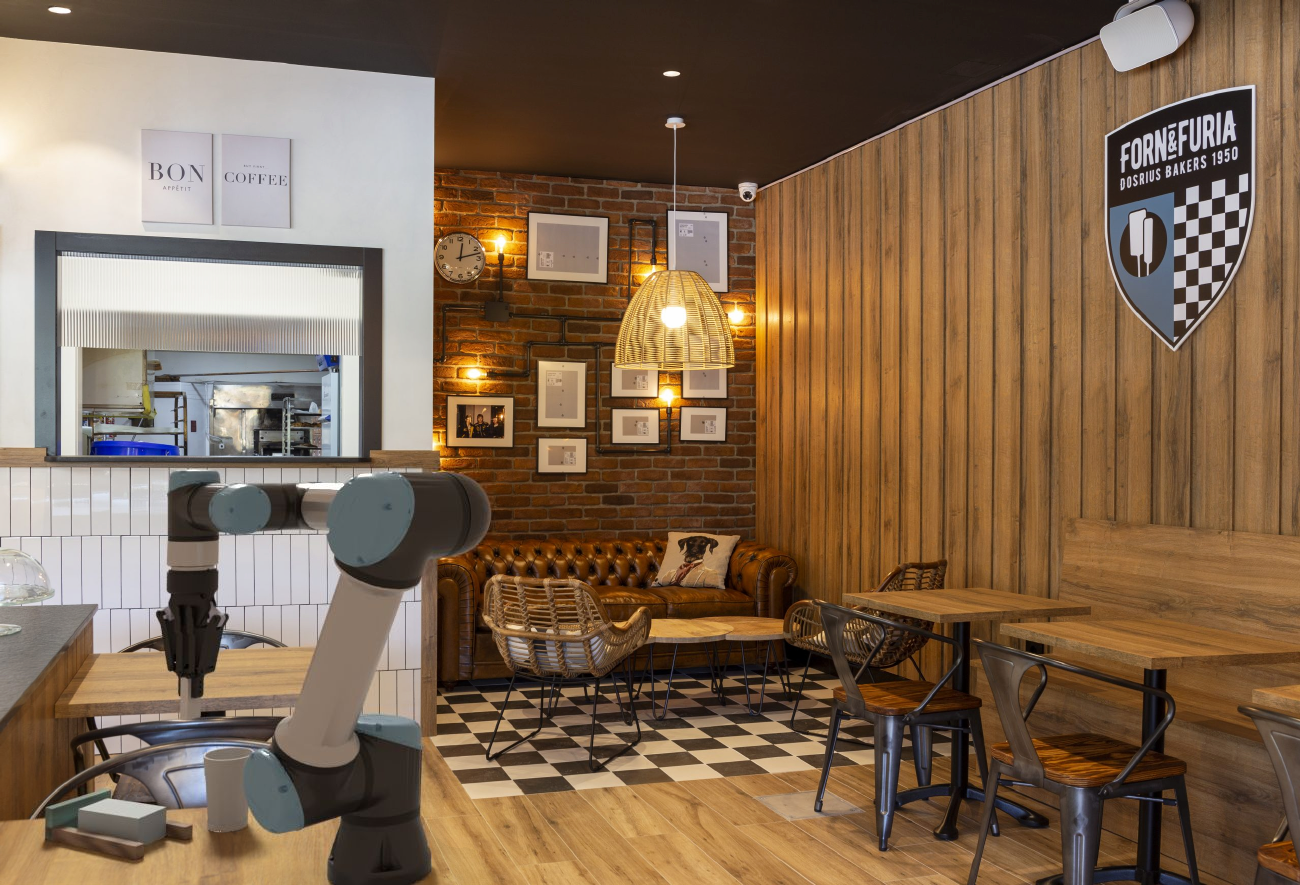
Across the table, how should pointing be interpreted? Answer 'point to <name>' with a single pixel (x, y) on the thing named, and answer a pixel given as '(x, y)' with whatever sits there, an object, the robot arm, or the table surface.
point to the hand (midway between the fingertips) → (190, 718)
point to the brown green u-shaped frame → (65, 830)
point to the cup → (226, 788)
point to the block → (124, 820)
